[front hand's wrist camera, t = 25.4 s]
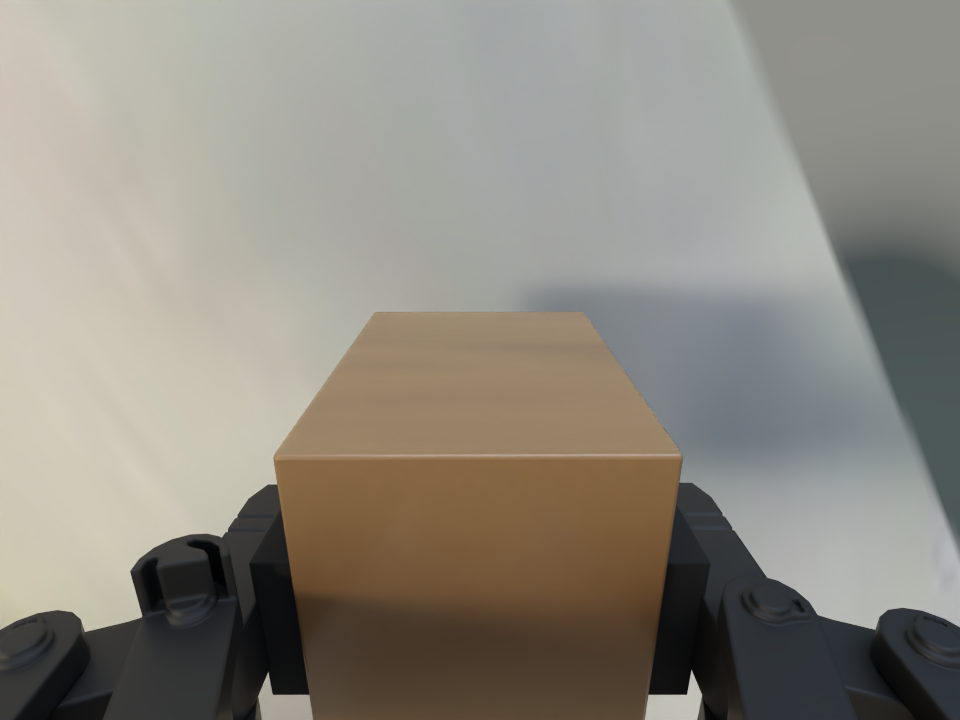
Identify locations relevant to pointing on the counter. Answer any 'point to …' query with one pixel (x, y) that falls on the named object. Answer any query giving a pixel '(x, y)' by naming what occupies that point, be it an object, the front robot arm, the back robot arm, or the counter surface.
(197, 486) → the counter surface
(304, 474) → the brown block
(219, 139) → the counter surface
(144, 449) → the counter surface
